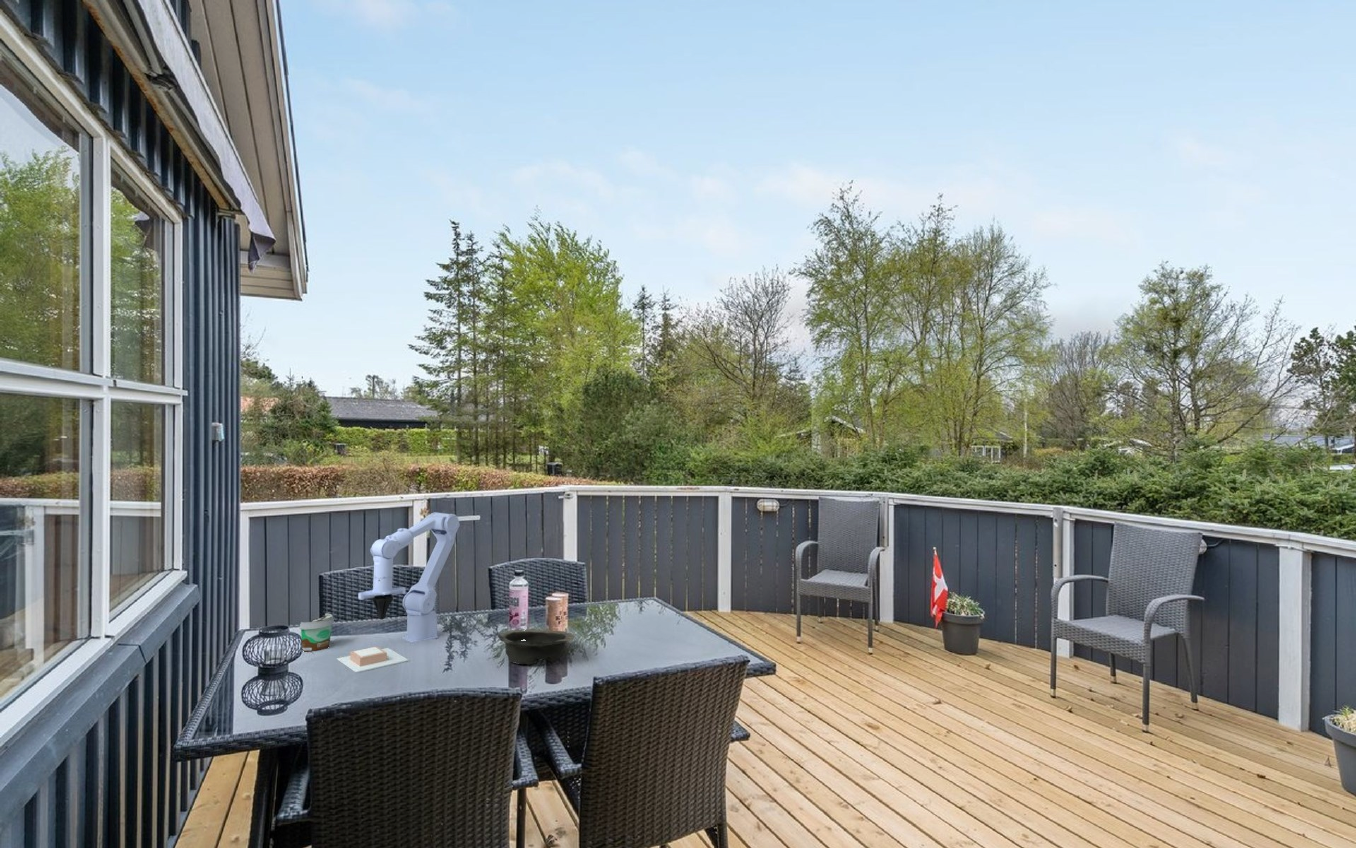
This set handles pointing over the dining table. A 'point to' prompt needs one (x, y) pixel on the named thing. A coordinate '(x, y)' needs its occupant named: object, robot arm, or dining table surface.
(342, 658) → the mat
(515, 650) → the stone bowl
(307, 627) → the food container
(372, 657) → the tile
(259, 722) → the dining table surface
